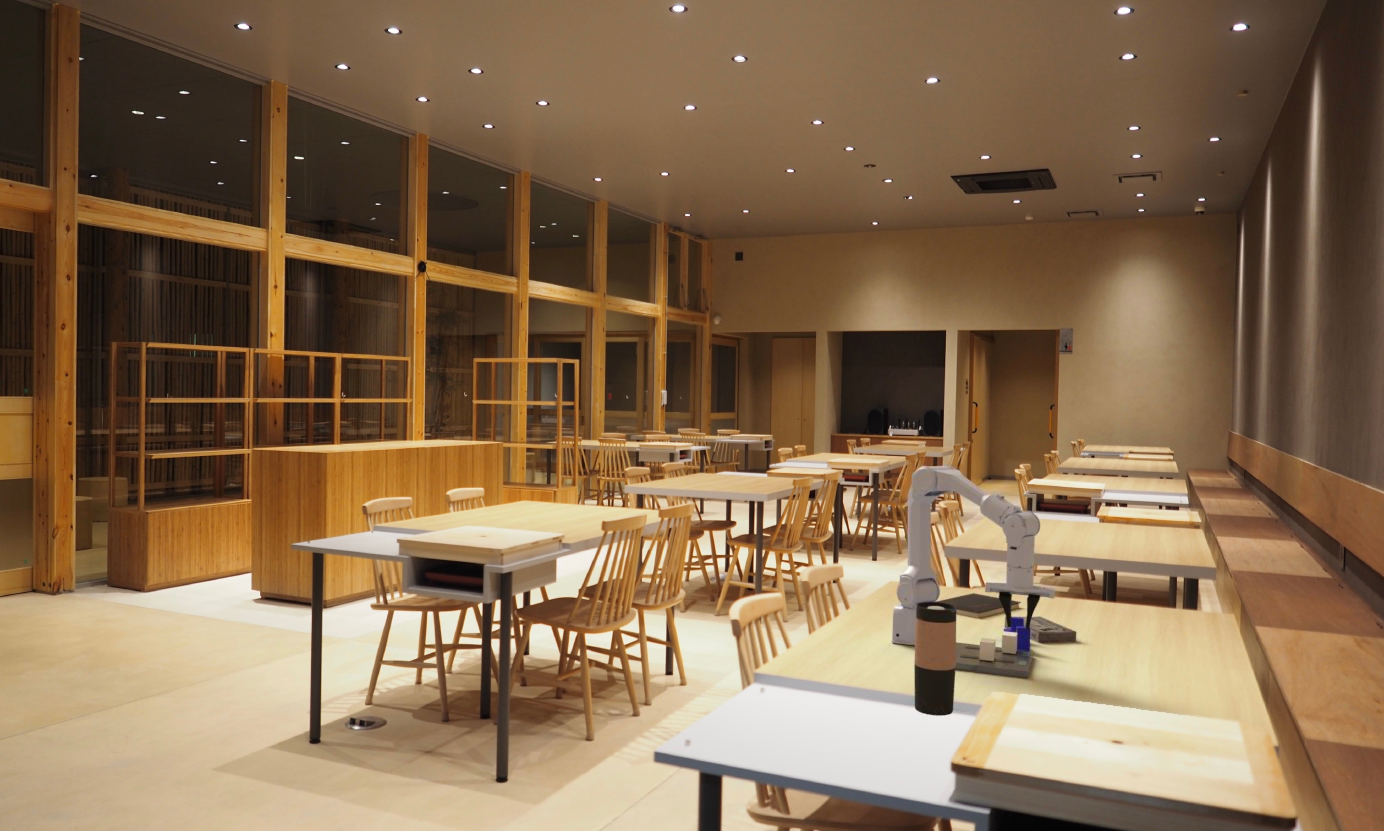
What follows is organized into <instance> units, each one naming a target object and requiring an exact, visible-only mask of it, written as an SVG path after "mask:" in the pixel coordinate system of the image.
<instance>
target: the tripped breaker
mask: <svg viewBox="0 0 1384 831" xmlns="http://www.w3.org/2000/svg"><path fill="white" fill-rule="evenodd" d="M979 645H980V653H979V660H988V661H994V658H995V647H996V639H995V638H988V637H987V638H986V637H981V638H980V640H979Z"/></svg>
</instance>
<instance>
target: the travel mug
mask: <svg viewBox="0 0 1384 831" xmlns="http://www.w3.org/2000/svg"><path fill="white" fill-rule="evenodd" d="M956 611H957V608H956V606H954V605H951V604H947V603H940V602H936V601H935V602H921V603H918V604H917V606H916V633H915V645H914V662H913V664H914V709H915V710H916V711H917V712H918V713H921V714H924V715H927V716H936V717H937V716H941V717H942V716H948V715H949V716H950V715H952V713H953V712H954V704H955V702H954V701H955V682H956V669H955V667H956V642H957V614H956Z"/></svg>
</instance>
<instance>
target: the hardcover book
mask: <svg viewBox="0 0 1384 831" xmlns="http://www.w3.org/2000/svg"><path fill="white" fill-rule="evenodd" d="M935 602H940V603H947V604H951V605H954V606H956V608H957V611H956V615H959V616H965V617H969V618H970V617H971V618H974V619H981V618H984V617H987V616H992V615H995V614H999V613H1003V612H1004V609H1003V606H1002V604H1001V602H1000V600H999V597H996V596H991V595H985V594H979V593H973V592H972V593H968V594H964V595H958V596H954V597H950V598H946V599H941V600H937V601H935ZM1021 603H1022V602H1021V601H1017V600H1013V599H1012V601H1011V610H1015V609H1019V607H1020V604H1021ZM1004 613H1005V612H1004Z"/></svg>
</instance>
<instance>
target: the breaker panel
mask: <svg viewBox="0 0 1384 831" xmlns="http://www.w3.org/2000/svg"><path fill="white" fill-rule="evenodd" d="M979 653H980V644H974V643H973V644H972V643H968V642H967V643H963V642H957V641H956V667H955V671H956V670H958V671H964V672H965V671H966V672H972V673H973V672H974V673H981V674H989V675H998V676H1004V677H1011V678H1012V677H1013V678H1022V679H1028V678H1029V673H1030V670H1031V666H1032V663H1033V659H1034V651H1033V650H1030V651H1028V650H1019V649H1017V651H1016V654H1012V653H1003V652H1002V646H995V658H994V661H988V660H979Z"/></svg>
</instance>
